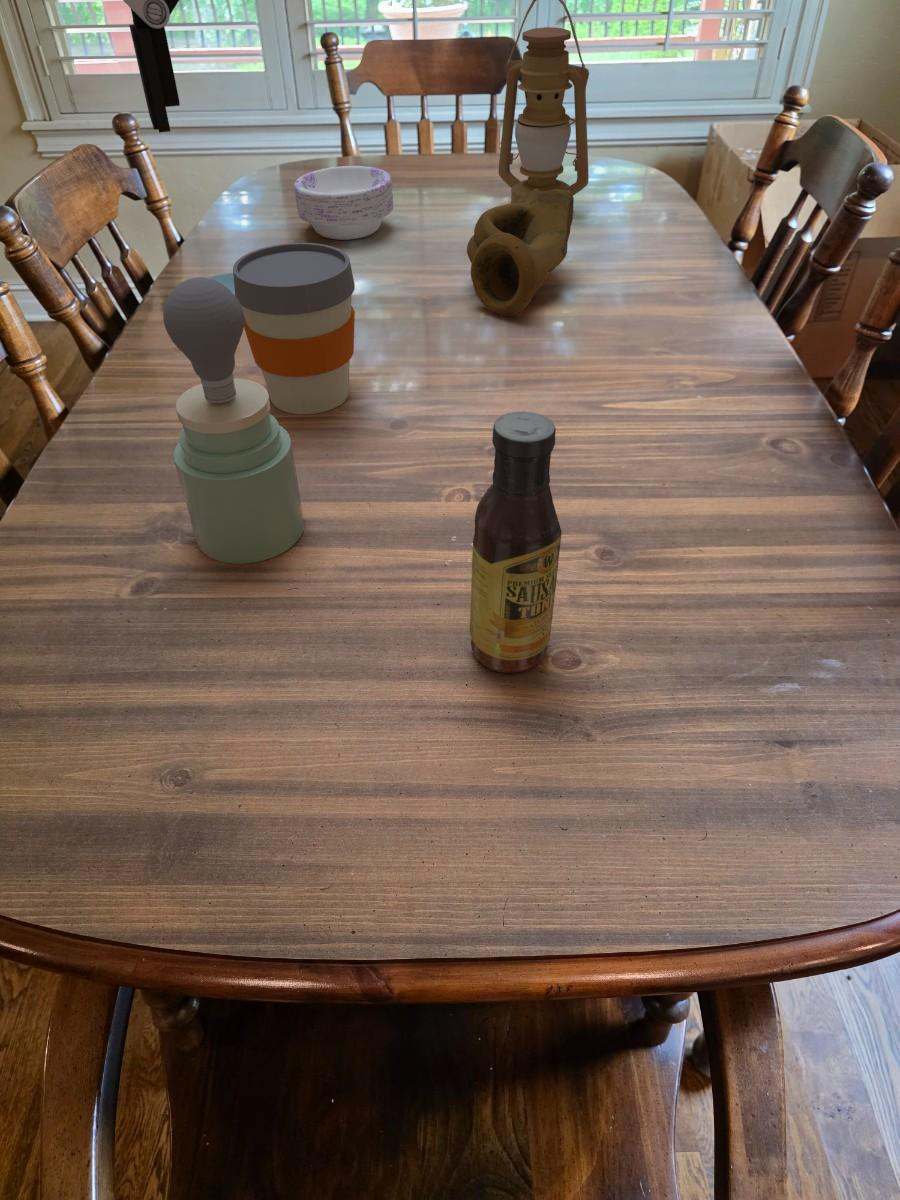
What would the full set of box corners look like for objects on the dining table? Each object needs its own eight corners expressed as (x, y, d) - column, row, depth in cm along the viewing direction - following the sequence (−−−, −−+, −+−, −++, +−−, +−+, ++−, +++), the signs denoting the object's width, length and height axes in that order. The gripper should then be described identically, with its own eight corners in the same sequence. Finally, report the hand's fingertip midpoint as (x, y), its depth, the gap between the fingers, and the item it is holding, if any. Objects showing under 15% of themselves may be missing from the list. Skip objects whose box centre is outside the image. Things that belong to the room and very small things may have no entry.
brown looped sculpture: (636, 220, 119) (551, 239, 104) (595, 303, 128) (511, 332, 113) (536, 153, 124) (441, 162, 109) (503, 238, 133) (411, 257, 118)
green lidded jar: (173, 546, 79) (134, 415, 70) (239, 489, 86) (211, 362, 77) (263, 576, 76) (235, 442, 67) (324, 514, 82) (306, 384, 73)
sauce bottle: (508, 690, 65) (517, 466, 52) (453, 647, 69) (449, 427, 55) (568, 649, 68) (591, 428, 55) (512, 609, 72) (521, 393, 59)
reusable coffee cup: (306, 359, 106) (288, 234, 96) (386, 386, 101) (377, 256, 91) (231, 402, 99) (204, 270, 89) (314, 434, 93) (294, 298, 83)
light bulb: (194, 382, 74) (167, 265, 67) (264, 382, 74) (243, 264, 67) (176, 418, 69) (144, 296, 63) (250, 418, 69) (226, 296, 63)
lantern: (588, 202, 148) (605, -12, 128) (584, 223, 140) (602, -1, 120) (500, 199, 150) (504, -12, 130) (491, 219, 142) (494, -2, 122)
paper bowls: (292, 221, 143) (285, 169, 138) (381, 210, 147) (378, 159, 141) (309, 253, 132) (302, 198, 127) (405, 240, 136) (402, 187, 130)
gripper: (146, -408, 33) (230, 100, 44) (-384, -427, 29) (-142, 136, 40) (164, -454, 28) (254, 137, 39) (-482, -485, 24) (-171, 182, 35)
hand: (53, 136), depth 40 cm, fingers open, 9 cm apart
